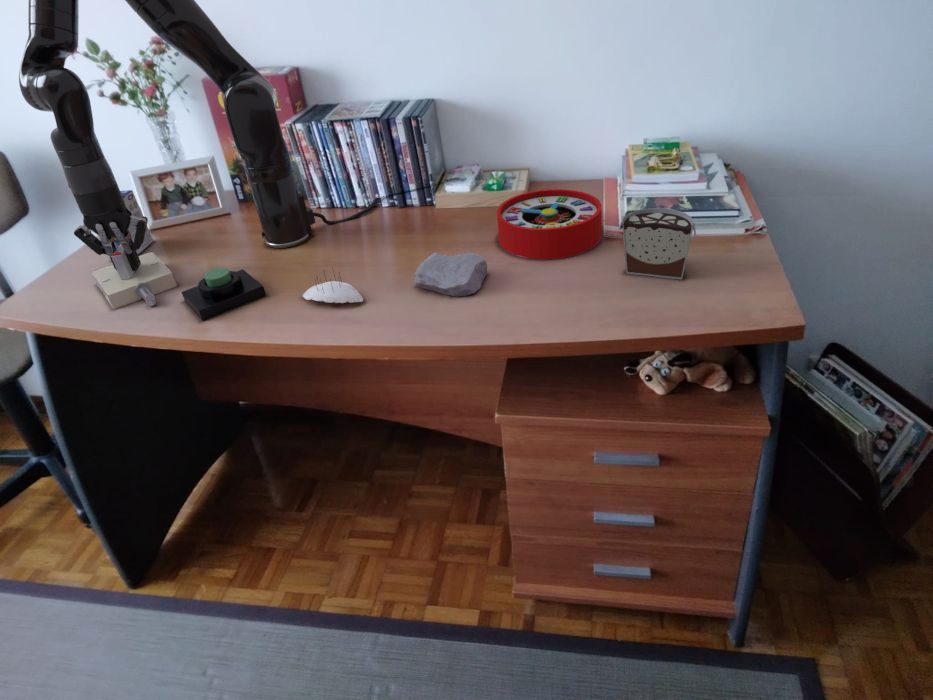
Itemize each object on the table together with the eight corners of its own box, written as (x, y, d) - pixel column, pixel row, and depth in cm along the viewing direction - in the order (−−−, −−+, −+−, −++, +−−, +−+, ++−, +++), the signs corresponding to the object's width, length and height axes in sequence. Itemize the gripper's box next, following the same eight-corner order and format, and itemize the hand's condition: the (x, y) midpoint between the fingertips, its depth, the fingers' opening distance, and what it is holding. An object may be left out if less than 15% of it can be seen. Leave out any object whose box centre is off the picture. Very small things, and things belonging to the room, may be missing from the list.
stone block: (475, 306, 116) (491, 269, 122) (470, 285, 113) (486, 248, 119) (413, 303, 120) (431, 267, 126) (405, 282, 117) (425, 247, 123)
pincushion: (294, 306, 119) (286, 277, 116) (312, 289, 124) (304, 261, 121) (354, 312, 115) (348, 282, 112) (370, 294, 120) (364, 266, 117)
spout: (152, 293, 129) (147, 280, 127) (161, 302, 125) (155, 289, 123) (138, 298, 127) (132, 285, 126) (145, 308, 124) (140, 295, 122)
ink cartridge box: (132, 242, 153) (106, 180, 145) (154, 241, 152) (130, 178, 144) (109, 262, 145) (80, 197, 137) (132, 260, 144) (105, 196, 136)
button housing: (246, 279, 131) (240, 260, 128) (266, 296, 124) (260, 276, 121) (185, 302, 125) (177, 283, 123) (202, 321, 118) (195, 301, 116)
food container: (697, 264, 117) (702, 209, 111) (691, 280, 112) (696, 224, 107) (626, 257, 122) (628, 204, 116) (617, 272, 117) (619, 218, 112)
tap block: (157, 264, 141) (151, 250, 139) (177, 286, 131) (171, 271, 129) (97, 285, 135) (90, 271, 134) (113, 309, 126) (107, 294, 124)
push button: (226, 274, 125) (224, 265, 124) (235, 281, 122) (232, 272, 121) (203, 282, 123) (200, 273, 122) (212, 290, 120) (208, 281, 119)
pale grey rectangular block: (130, 265, 134) (120, 241, 131) (140, 264, 134) (130, 240, 131) (121, 280, 129) (110, 255, 126) (130, 278, 129) (120, 254, 126)
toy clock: (582, 234, 118) (479, 224, 126) (582, 264, 121) (482, 252, 129) (614, 192, 132) (520, 185, 140) (614, 220, 135) (522, 212, 144)
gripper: (137, 172, 125) (170, 256, 135) (62, 182, 124) (100, 267, 134) (126, 186, 119) (160, 273, 128) (46, 197, 118) (87, 284, 128)
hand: (129, 269), depth 131 cm, fingers closed on pale grey rectangular block, 2 cm apart
